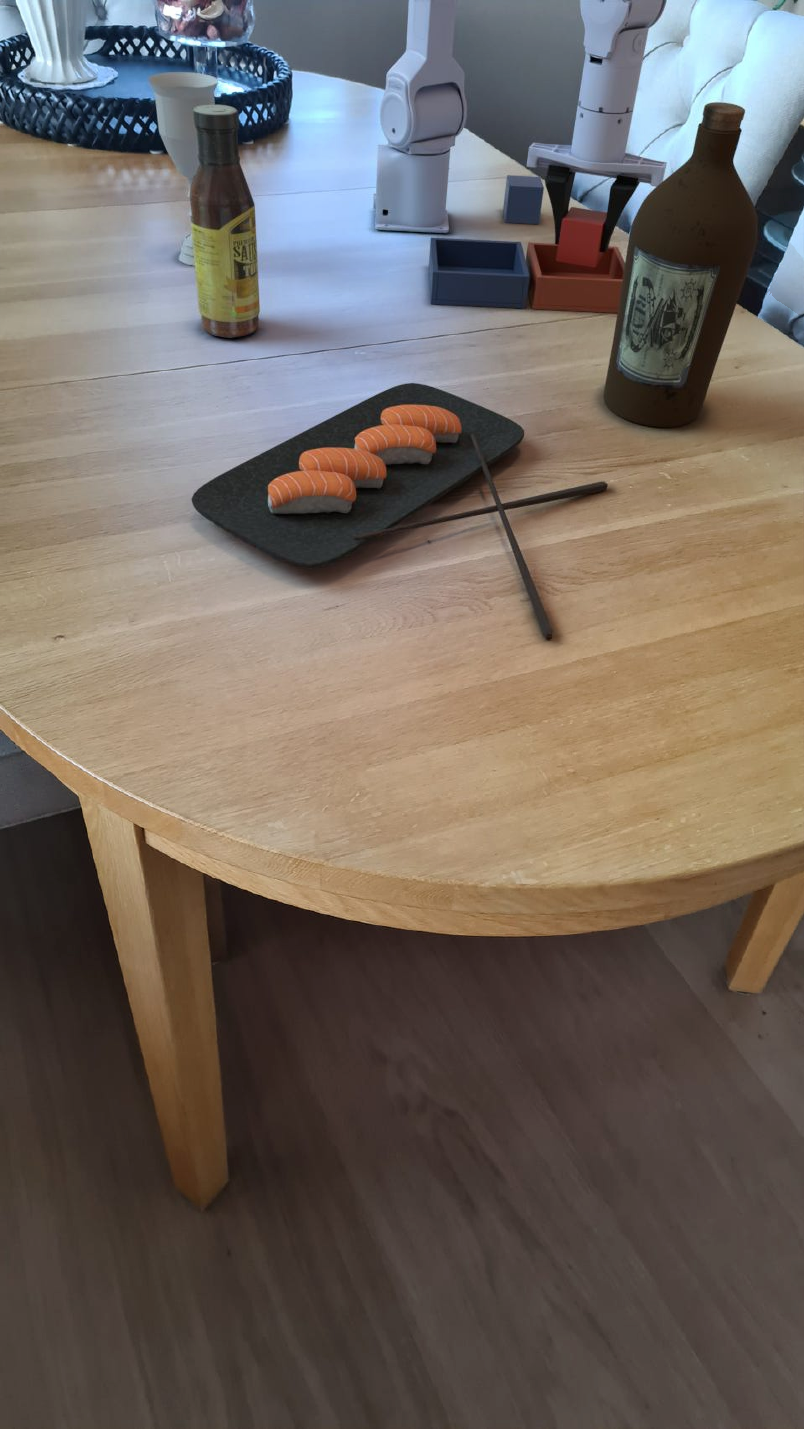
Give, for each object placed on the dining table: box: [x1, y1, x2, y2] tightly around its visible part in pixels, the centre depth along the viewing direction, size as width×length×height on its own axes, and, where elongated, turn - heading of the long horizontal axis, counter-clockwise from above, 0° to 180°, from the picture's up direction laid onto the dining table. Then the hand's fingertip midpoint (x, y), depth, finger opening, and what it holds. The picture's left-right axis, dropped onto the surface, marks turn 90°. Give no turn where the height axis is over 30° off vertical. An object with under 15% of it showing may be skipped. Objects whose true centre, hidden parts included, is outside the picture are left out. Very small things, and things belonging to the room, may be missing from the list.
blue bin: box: [428, 237, 530, 309], centre depth 110 cm, size 11×11×4 cm
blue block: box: [502, 174, 545, 225], centre depth 128 cm, size 4×4×4 cm
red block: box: [556, 206, 607, 268], centre depth 108 cm, size 4×4×4 cm
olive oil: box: [603, 101, 759, 428], centre depth 84 cm, size 11×11×25 cm
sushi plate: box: [191, 382, 609, 640], centre depth 76 cm, size 29×30×4 cm
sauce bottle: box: [189, 104, 261, 339], centre depth 94 cm, size 7×6×20 cm
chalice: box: [147, 71, 219, 267], centre depth 108 cm, size 7×7×18 cm
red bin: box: [525, 242, 625, 314], centre depth 111 cm, size 11×11×4 cm
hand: (581, 245), depth 108 cm, fingers closed on red block, 4 cm apart
